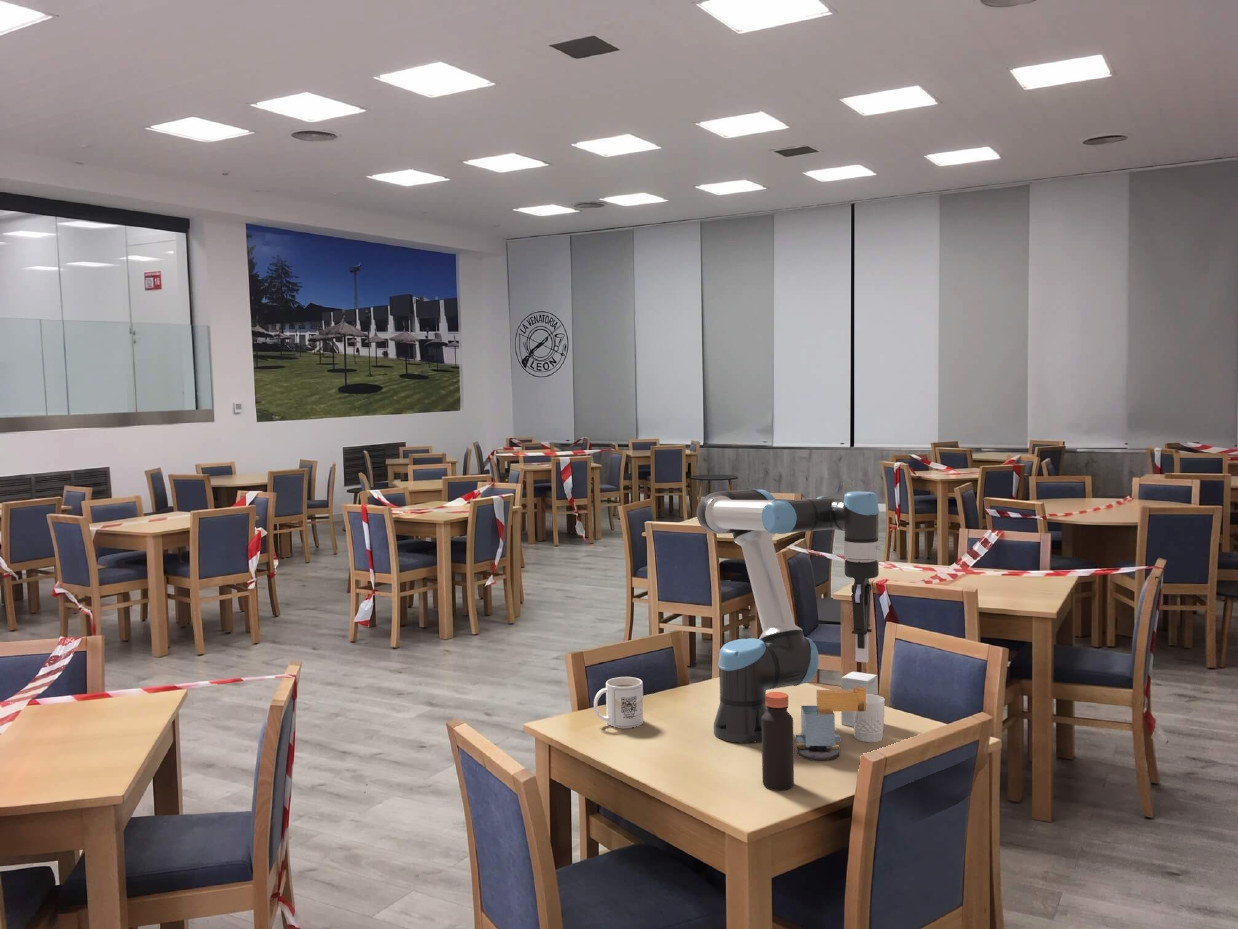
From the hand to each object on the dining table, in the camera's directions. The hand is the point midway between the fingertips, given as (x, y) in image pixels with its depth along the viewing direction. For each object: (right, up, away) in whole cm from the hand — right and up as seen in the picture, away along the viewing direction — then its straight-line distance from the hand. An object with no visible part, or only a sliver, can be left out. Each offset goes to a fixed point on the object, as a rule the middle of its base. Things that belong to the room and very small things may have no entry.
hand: (861, 661), depth 213 cm
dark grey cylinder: (-8, -24, +9) cm, 27 cm away
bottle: (-21, -25, -10) cm, 34 cm away
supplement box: (+7, -23, +30) cm, 38 cm away
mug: (-55, -24, +35) cm, 70 cm away
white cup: (+6, -23, +18) cm, 30 cm away
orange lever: (-5, -21, +8) cm, 23 cm away
